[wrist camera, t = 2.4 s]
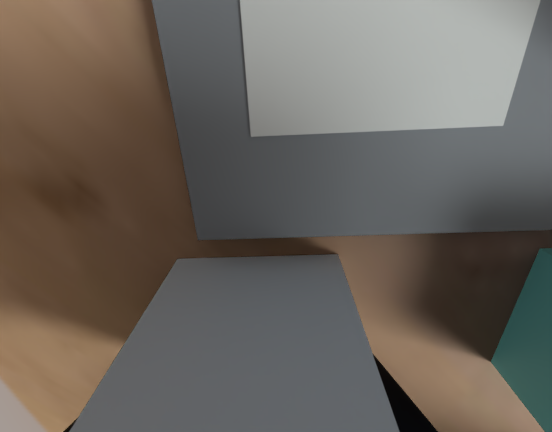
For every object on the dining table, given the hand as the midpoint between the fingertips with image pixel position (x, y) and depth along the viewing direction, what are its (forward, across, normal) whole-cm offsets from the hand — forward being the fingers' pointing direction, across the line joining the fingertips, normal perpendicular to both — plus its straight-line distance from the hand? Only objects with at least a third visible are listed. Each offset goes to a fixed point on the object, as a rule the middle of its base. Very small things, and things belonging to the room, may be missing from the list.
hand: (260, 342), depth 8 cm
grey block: (+1, 0, 0) cm, 1 cm away
